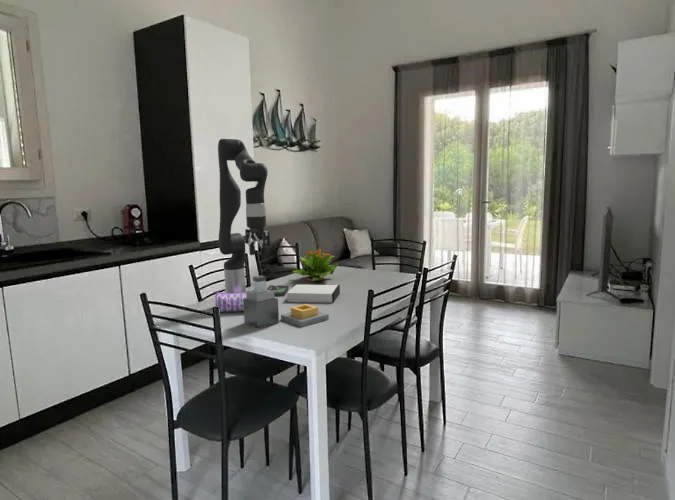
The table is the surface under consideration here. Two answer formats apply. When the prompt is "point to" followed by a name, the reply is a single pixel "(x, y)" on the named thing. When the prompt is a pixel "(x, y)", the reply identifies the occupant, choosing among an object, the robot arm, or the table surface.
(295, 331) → the table surface
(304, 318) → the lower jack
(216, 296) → the pencil case
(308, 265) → the potted flower
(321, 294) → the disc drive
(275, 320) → the grey open sleeve
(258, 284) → the plug
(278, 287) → the disk drive
